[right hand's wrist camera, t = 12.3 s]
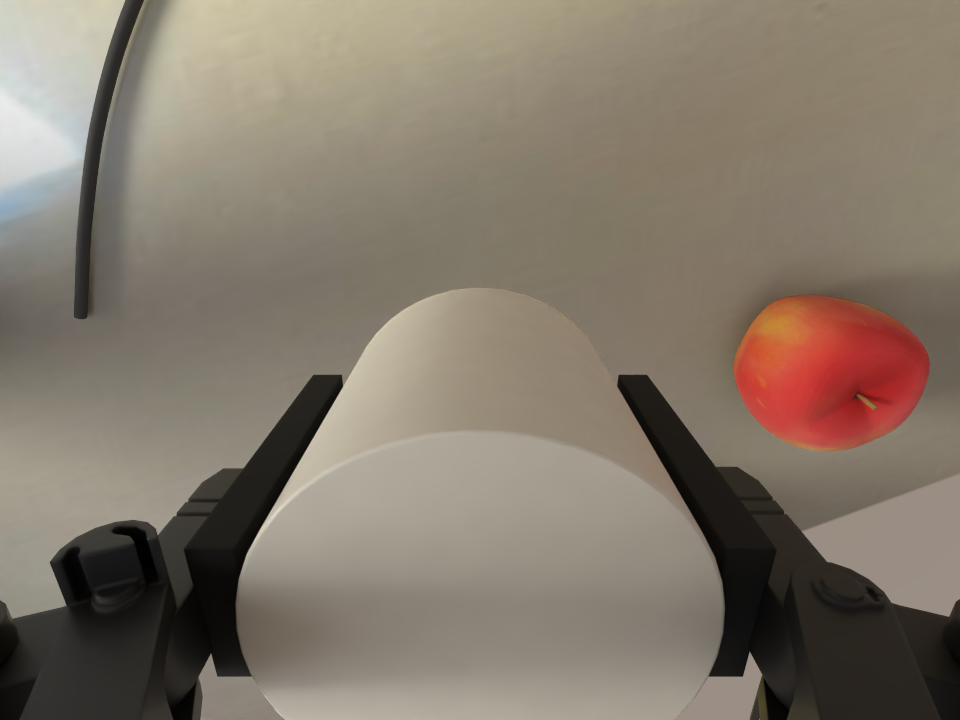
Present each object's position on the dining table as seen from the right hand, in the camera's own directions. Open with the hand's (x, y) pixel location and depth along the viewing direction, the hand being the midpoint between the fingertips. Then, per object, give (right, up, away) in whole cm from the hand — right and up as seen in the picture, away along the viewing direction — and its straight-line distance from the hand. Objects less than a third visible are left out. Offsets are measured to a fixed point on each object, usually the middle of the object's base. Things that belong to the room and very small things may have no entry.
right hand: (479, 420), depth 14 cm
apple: (+21, +3, +23) cm, 31 cm away
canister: (0, 0, 0) cm, 1 cm away
